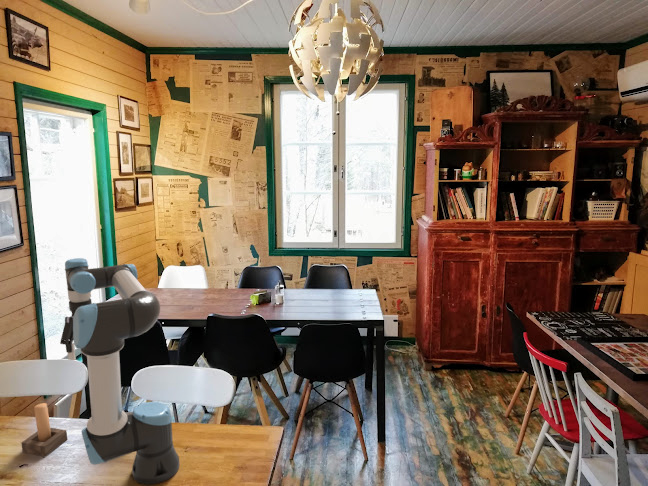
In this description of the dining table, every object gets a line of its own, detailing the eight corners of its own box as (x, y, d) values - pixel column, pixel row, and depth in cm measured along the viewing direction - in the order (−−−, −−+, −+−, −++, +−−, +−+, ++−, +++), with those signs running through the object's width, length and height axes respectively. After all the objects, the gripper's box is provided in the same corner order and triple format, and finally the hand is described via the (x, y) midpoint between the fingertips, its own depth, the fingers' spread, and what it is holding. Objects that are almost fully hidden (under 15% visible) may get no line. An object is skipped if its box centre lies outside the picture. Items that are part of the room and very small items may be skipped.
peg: (54, 443, 170) (49, 403, 167) (46, 449, 166) (40, 409, 163) (45, 441, 171) (40, 402, 168) (37, 448, 167) (31, 408, 164)
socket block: (67, 439, 172) (66, 430, 171) (46, 456, 162) (44, 446, 161) (45, 436, 174) (43, 426, 173) (22, 452, 164) (21, 442, 164)
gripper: (94, 289, 185) (99, 338, 189) (44, 309, 161) (51, 365, 165) (110, 290, 183) (115, 340, 187) (62, 311, 159) (69, 367, 163)
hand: (85, 352), depth 176 cm, fingers open, 13 cm apart
